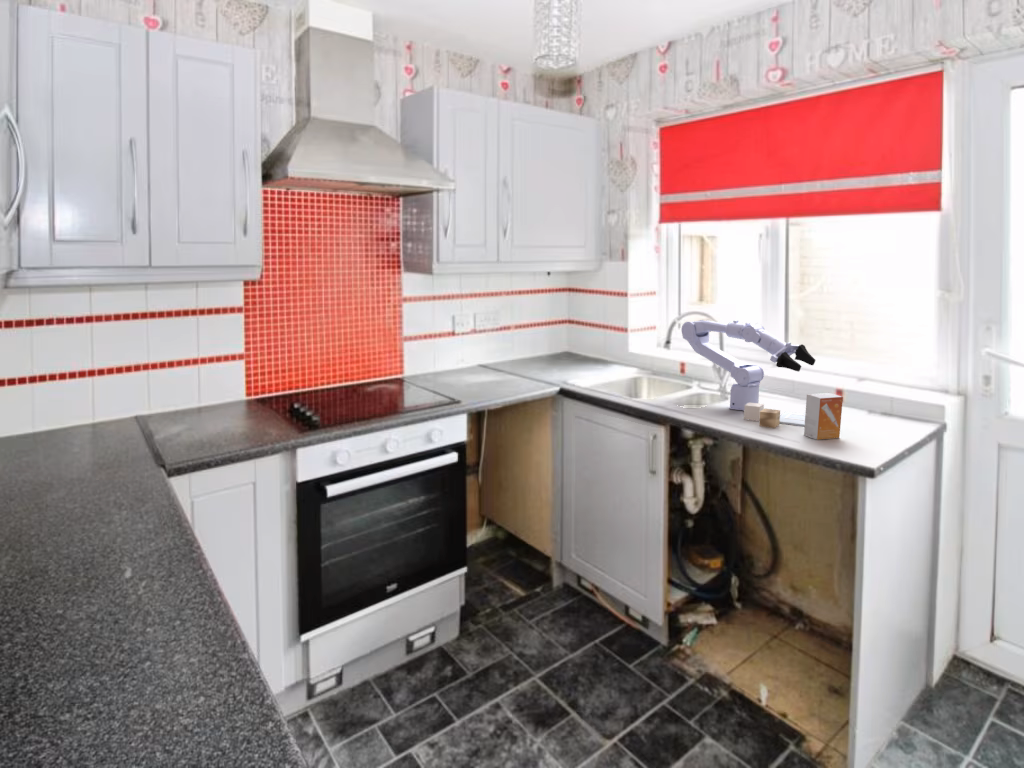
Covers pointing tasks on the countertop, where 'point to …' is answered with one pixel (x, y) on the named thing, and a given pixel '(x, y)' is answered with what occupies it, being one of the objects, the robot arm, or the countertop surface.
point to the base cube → (769, 418)
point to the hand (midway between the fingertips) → (807, 365)
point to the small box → (823, 416)
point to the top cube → (753, 411)
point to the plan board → (792, 418)
